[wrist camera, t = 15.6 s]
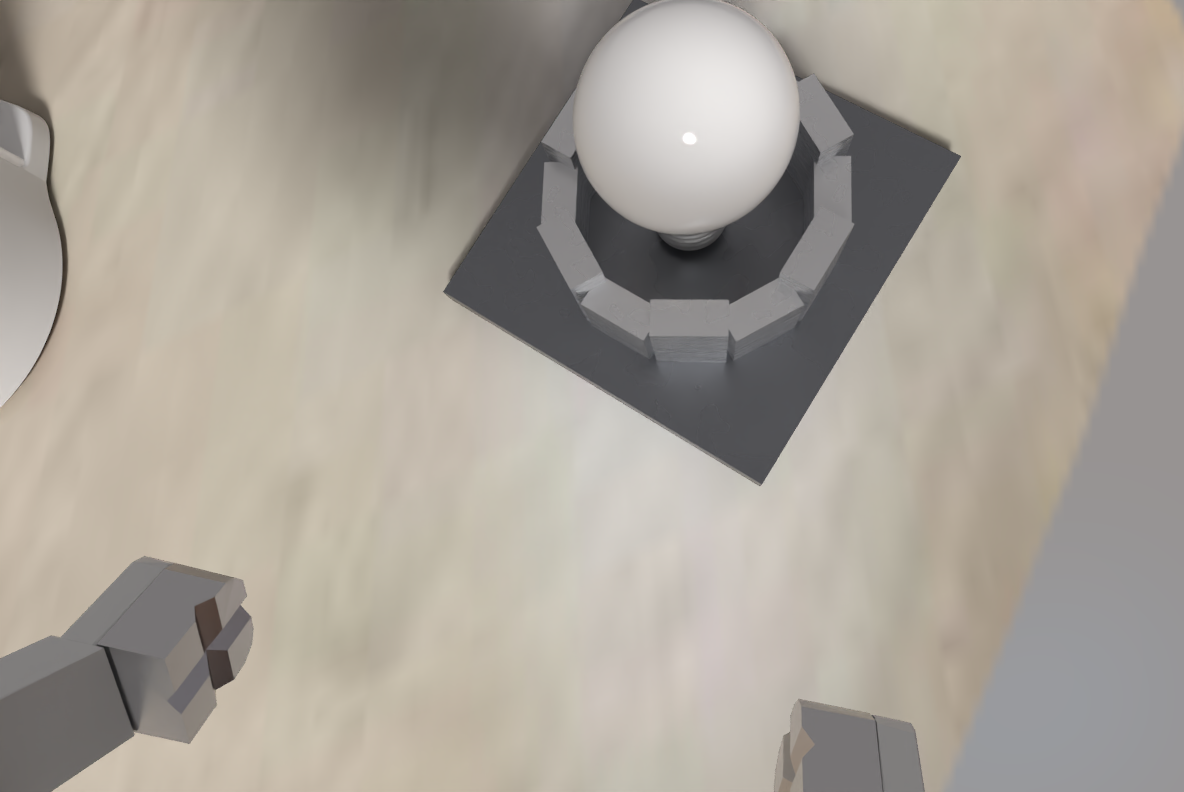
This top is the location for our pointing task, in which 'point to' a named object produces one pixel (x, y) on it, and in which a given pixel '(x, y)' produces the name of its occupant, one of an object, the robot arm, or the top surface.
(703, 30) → the lightbulb
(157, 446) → the top surface
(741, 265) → the lamp socket
